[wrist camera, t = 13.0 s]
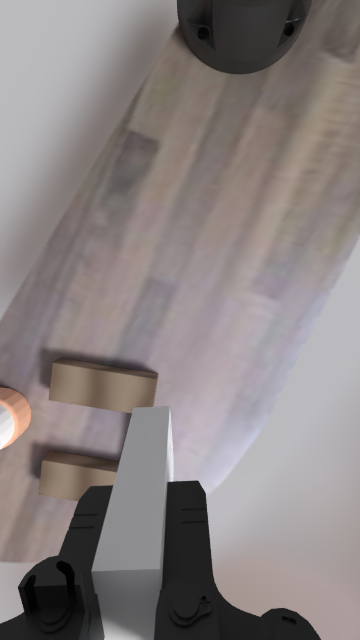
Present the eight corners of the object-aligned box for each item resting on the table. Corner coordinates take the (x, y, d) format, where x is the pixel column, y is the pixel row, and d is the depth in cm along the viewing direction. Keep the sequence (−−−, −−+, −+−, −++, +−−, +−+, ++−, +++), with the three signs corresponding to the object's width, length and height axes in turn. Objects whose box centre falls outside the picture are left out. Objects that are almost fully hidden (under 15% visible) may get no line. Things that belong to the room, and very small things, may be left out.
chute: (158, 373, 44) (156, 379, 41) (139, 498, 46) (136, 510, 43) (60, 358, 44) (52, 362, 41) (46, 483, 46) (38, 494, 44)
